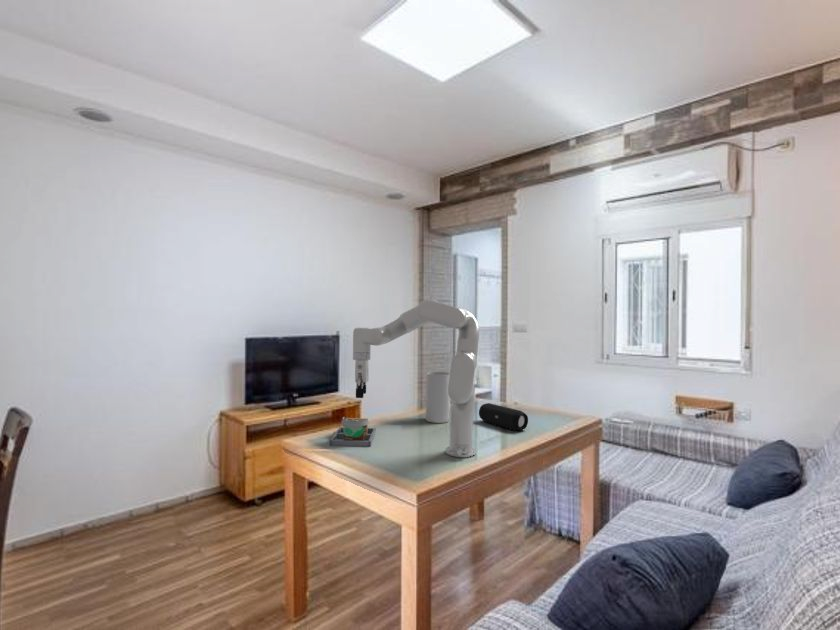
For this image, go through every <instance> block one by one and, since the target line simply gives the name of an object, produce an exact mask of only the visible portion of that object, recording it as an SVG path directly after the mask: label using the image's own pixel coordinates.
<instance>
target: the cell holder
mask: <svg viewBox="0 0 840 630" xmlns="http://www.w3.org/2000/svg"><path fill="white" fill-rule="evenodd" d="M376 433H377V428H375V427H368V434H366V440H365V441H354V440H344V432H343V426H339V427H338V429H337V430H336V431H335V433H334V434H333V436H332V437H331V439H329V446H333V447H334V446H336V447H337V446H341V447H367V448H369V447H372V444H373V442H374V439H375V435H376Z"/></svg>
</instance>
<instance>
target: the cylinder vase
mask: <svg viewBox="0 0 840 630" xmlns="http://www.w3.org/2000/svg"><path fill="white" fill-rule="evenodd" d="M449 376H450V372H446V371H429V372H427V373H426V391H425V392H426V394H425V397H426V398H425V399H426V400H425V402H426V403H425V420H426V421H427V422H428V423H431V424H446V423H448V422H450V409H451V399H450V397H449V395H448V385H449Z"/></svg>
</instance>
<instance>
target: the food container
mask: <svg viewBox="0 0 840 630" xmlns="http://www.w3.org/2000/svg"><path fill="white" fill-rule="evenodd" d="M366 419H367V420H364V421H360V420H357V419H346V418H345V416H343V417H342V419H341V422H340V423H341V425H342V427H343V432H344V440H354V441H365V440H366V432H367V425H370V423H369V422H370V421H369V418H366Z"/></svg>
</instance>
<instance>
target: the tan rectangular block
mask: <svg viewBox="0 0 840 630" xmlns="http://www.w3.org/2000/svg"><path fill="white" fill-rule="evenodd" d="M345 419H357V420H360V421H364V420H367V419H368V418H360V417H345ZM368 425H369V424H368ZM368 425H367V432H366V434H368V428H369V426H368Z"/></svg>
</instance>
